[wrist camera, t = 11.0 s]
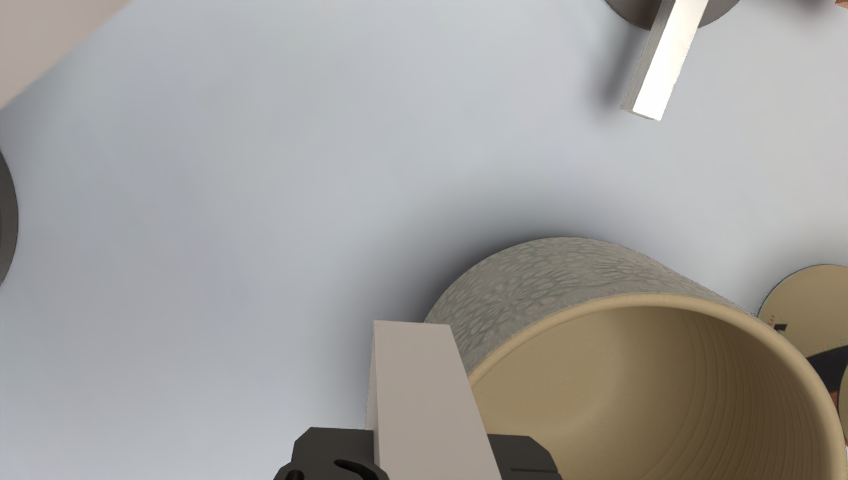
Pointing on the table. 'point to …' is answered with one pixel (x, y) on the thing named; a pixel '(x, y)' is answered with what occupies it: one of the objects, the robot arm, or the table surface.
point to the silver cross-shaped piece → (665, 56)
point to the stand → (642, 4)
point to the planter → (635, 369)
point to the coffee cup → (816, 325)
